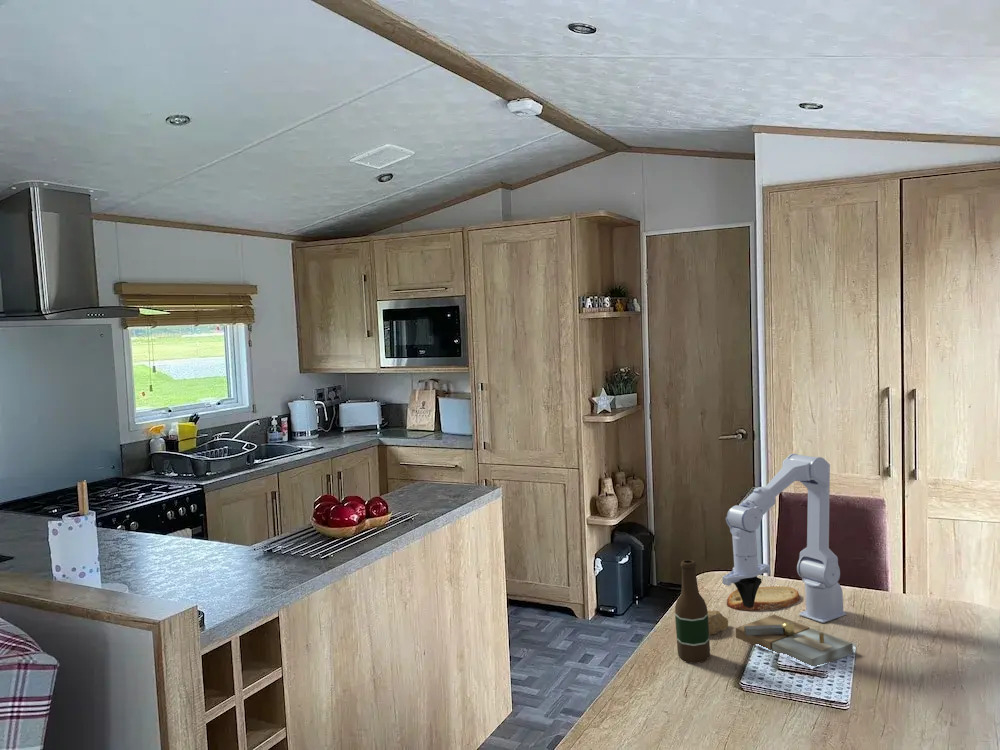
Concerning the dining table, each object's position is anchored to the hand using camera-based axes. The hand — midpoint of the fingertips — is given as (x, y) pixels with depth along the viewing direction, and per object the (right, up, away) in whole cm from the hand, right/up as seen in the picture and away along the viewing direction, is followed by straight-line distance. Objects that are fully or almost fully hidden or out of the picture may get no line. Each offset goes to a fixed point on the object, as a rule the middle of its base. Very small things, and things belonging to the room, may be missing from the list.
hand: (748, 606), depth 204 cm
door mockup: (+9, -9, -3) cm, 13 cm away
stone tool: (-8, -9, +9) cm, 15 cm away
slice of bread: (+13, -7, +27) cm, 30 cm away
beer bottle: (-15, -11, -6) cm, 20 cm away
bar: (+5, -6, -2) cm, 8 cm away
